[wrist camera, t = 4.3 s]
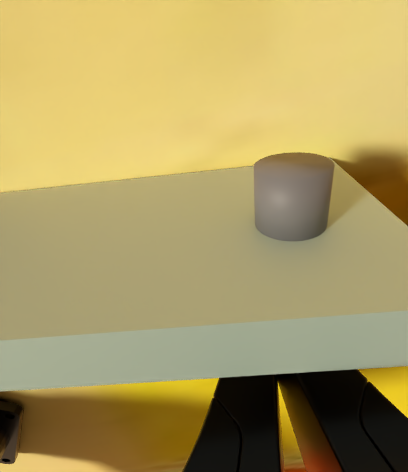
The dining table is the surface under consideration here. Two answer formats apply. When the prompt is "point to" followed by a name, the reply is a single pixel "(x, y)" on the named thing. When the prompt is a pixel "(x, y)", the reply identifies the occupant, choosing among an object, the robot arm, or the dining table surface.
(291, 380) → the robot arm
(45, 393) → the dining table surface
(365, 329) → the door
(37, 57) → the dining table surface
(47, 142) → the dining table surface
